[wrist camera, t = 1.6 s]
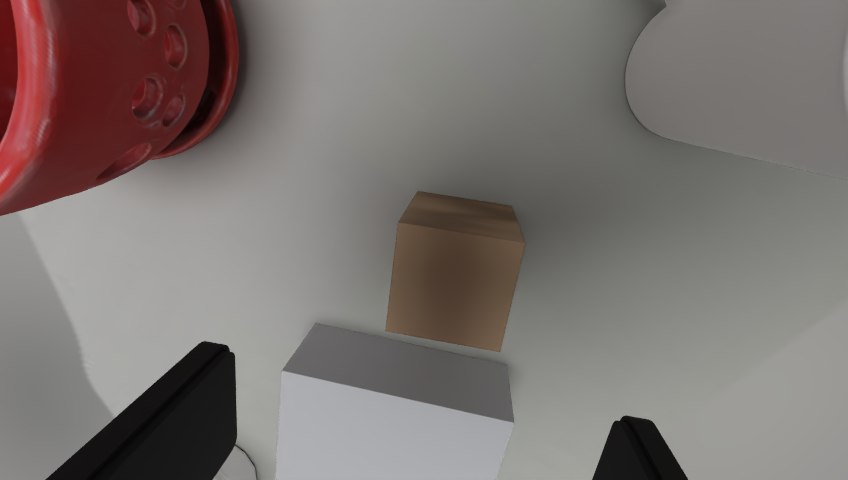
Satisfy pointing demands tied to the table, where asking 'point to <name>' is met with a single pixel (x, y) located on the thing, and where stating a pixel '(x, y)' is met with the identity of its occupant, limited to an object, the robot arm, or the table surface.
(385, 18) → the table surface
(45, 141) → the plant pot
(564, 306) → the table surface
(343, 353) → the grey block
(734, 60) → the mug
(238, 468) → the white cup
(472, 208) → the walnut block
